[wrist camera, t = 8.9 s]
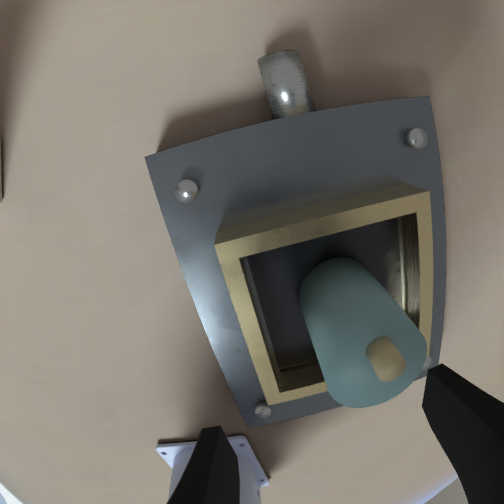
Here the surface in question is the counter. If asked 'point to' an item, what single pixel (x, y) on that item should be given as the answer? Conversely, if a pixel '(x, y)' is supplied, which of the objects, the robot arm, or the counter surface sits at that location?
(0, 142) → the skincare box
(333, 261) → the spout can
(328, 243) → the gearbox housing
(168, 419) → the counter surface
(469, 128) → the counter surface
